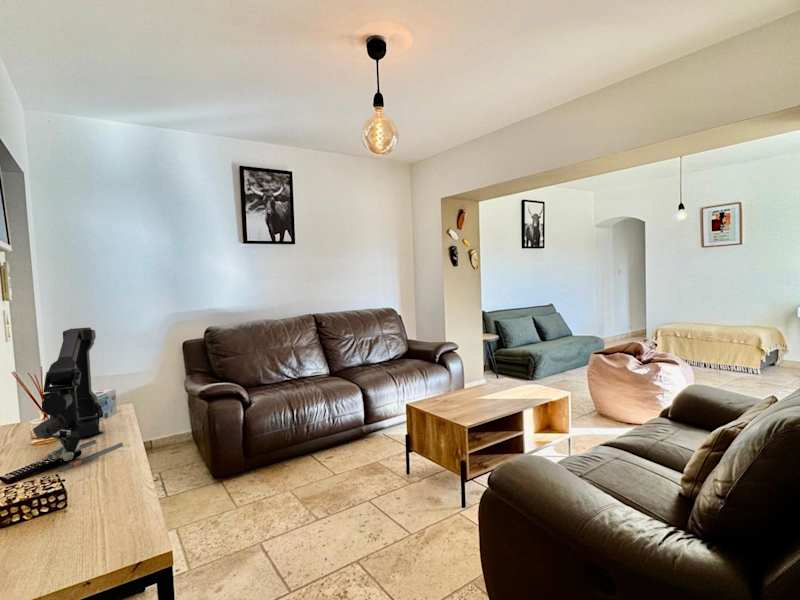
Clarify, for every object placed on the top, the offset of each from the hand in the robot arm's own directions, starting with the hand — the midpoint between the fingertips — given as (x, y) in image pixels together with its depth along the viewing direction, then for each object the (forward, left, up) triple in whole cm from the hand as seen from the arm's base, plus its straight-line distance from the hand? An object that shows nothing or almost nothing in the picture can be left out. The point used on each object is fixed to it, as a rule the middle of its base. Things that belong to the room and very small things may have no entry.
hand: (71, 455), depth 129 cm
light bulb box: (-34, -32, -2) cm, 47 cm away
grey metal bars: (-3, 0, -2) cm, 3 cm away
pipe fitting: (-1, +1, 0) cm, 2 cm away
